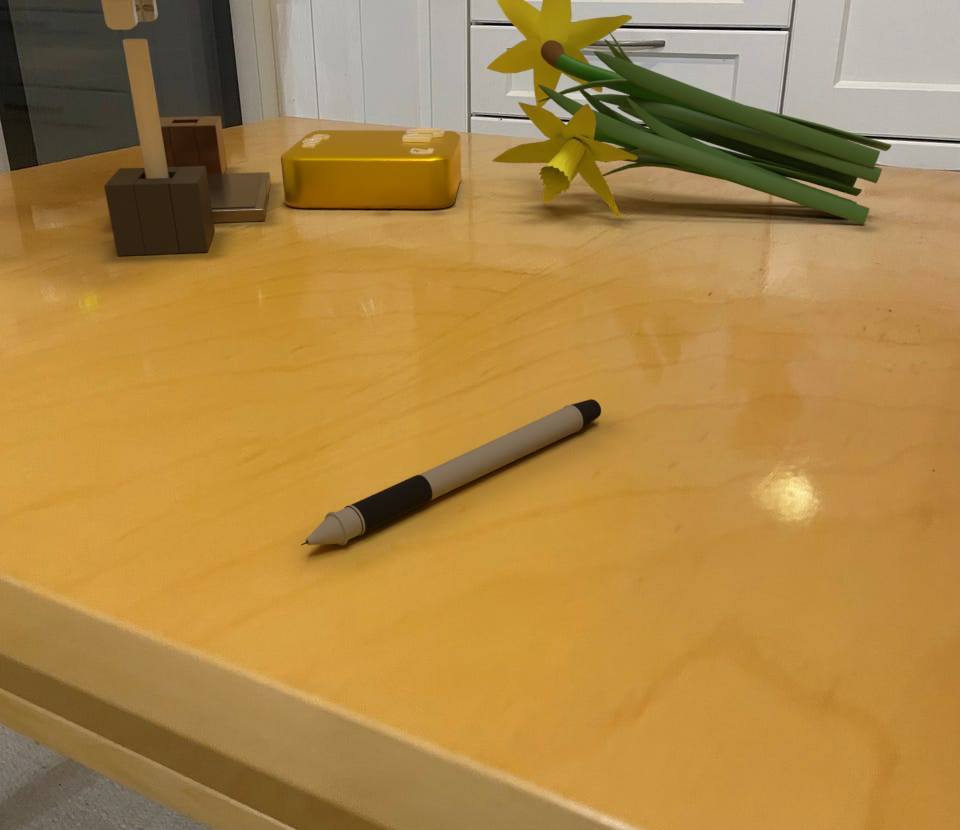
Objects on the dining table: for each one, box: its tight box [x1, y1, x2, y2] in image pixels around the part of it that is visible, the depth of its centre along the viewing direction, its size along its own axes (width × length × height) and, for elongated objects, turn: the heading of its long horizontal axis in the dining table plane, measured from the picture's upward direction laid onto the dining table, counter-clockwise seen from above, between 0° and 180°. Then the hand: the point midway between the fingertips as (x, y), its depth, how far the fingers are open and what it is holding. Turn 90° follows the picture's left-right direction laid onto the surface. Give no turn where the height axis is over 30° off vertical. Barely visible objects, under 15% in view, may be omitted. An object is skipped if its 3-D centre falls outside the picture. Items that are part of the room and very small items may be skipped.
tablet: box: [207, 171, 272, 224], centre depth 83 cm, size 12×16×1 cm
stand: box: [159, 115, 228, 174], centre depth 94 cm, size 6×6×5 cm
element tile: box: [280, 127, 462, 210], centre depth 86 cm, size 15×15×5 cm
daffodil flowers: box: [486, 0, 892, 226], centre depth 78 cm, size 17×15×35 cm
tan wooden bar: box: [122, 38, 169, 179], centre depth 68 cm, size 2×2×14 cm
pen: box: [300, 398, 602, 546], centre depth 38 cm, size 1×16×1 cm, turn 135°
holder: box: [103, 166, 216, 257], centre depth 70 cm, size 6×6×5 cm
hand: (134, 25), depth 64 cm, fingers open, 8 cm apart
